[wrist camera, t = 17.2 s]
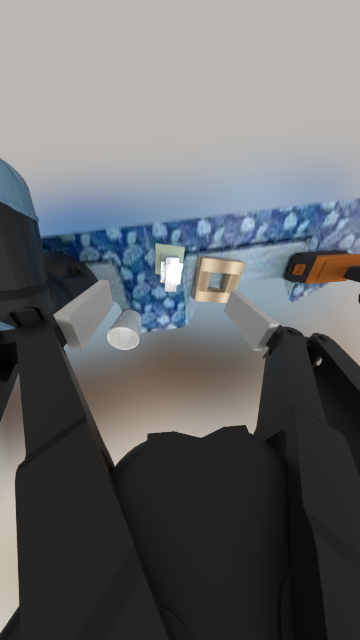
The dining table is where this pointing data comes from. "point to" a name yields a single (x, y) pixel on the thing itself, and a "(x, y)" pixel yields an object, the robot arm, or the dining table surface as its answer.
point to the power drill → (324, 267)
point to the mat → (167, 249)
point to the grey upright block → (170, 271)
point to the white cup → (125, 330)
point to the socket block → (229, 280)
